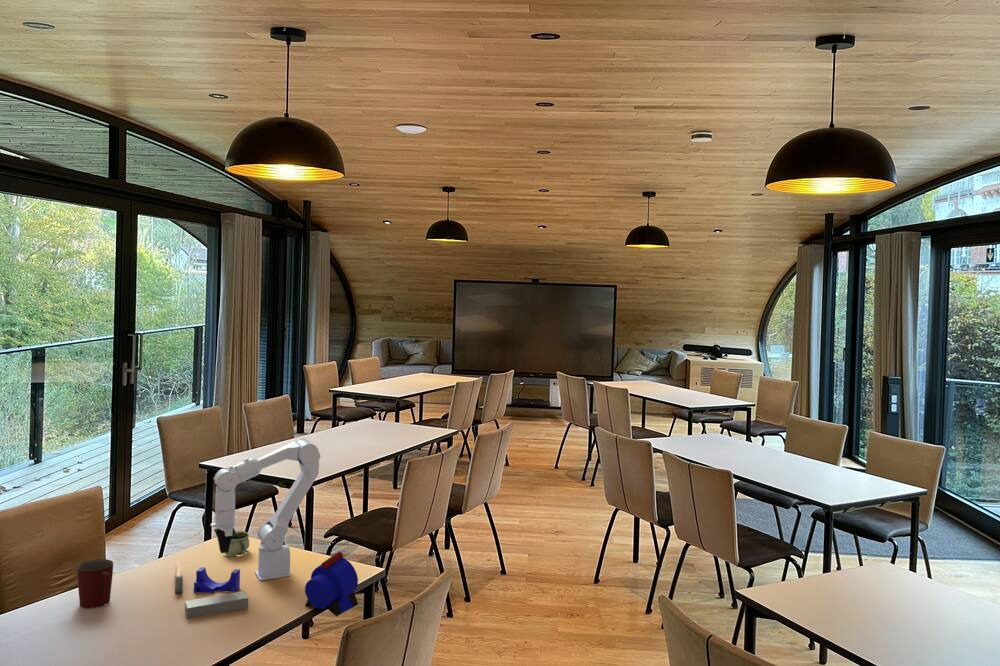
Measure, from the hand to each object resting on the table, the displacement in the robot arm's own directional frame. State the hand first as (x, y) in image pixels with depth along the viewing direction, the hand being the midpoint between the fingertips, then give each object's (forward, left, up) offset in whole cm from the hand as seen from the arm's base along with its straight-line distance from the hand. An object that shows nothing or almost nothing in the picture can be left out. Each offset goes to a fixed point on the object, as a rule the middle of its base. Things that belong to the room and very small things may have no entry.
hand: (224, 552), depth 222 cm
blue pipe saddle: (+3, +5, -10) cm, 11 cm away
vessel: (-8, -24, -10) cm, 27 cm away
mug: (+34, +2, -10) cm, 35 cm away
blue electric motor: (-24, +30, -10) cm, 40 cm away
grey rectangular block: (+5, +19, -9) cm, 22 cm away
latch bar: (+12, -4, -9) cm, 16 cm away
